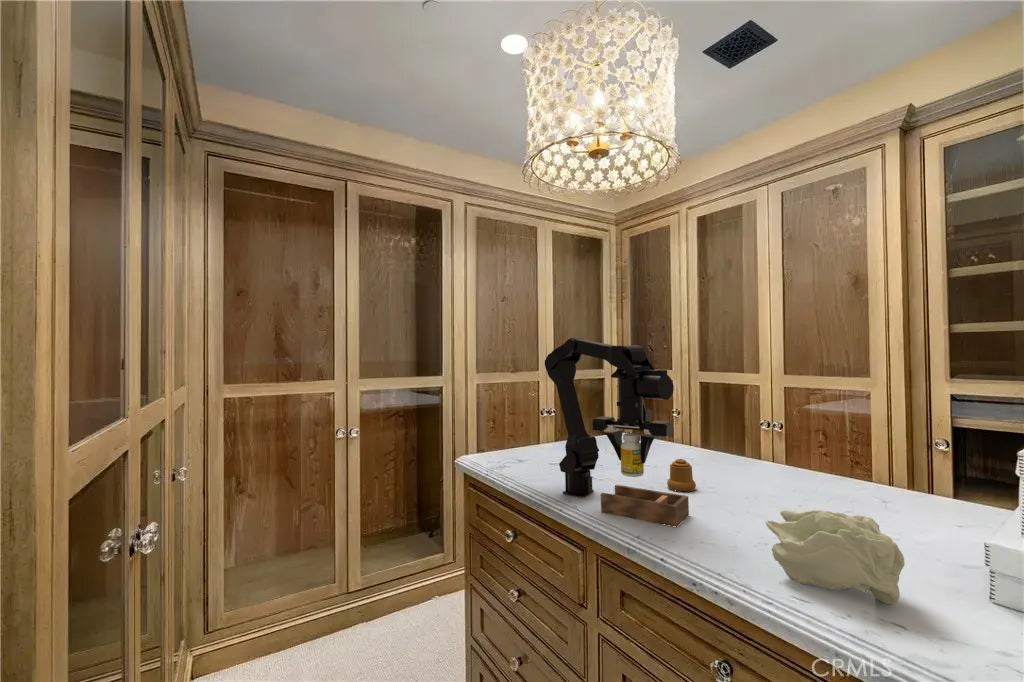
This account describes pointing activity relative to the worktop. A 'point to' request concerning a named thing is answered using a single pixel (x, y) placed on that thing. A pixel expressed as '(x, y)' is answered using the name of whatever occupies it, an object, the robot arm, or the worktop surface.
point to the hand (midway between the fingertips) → (632, 461)
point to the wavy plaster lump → (838, 552)
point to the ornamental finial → (681, 476)
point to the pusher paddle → (662, 499)
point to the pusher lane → (645, 505)
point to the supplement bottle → (631, 456)
